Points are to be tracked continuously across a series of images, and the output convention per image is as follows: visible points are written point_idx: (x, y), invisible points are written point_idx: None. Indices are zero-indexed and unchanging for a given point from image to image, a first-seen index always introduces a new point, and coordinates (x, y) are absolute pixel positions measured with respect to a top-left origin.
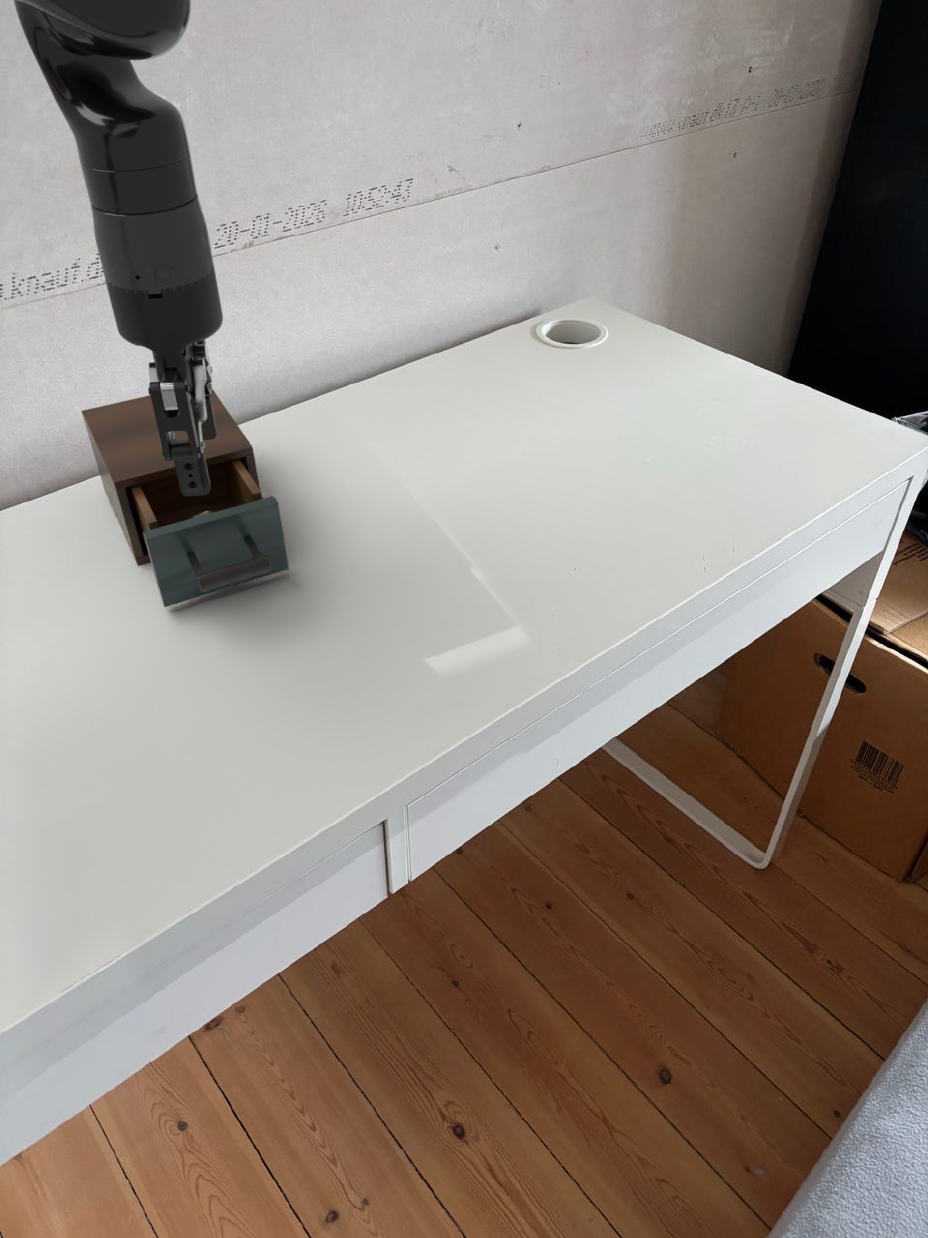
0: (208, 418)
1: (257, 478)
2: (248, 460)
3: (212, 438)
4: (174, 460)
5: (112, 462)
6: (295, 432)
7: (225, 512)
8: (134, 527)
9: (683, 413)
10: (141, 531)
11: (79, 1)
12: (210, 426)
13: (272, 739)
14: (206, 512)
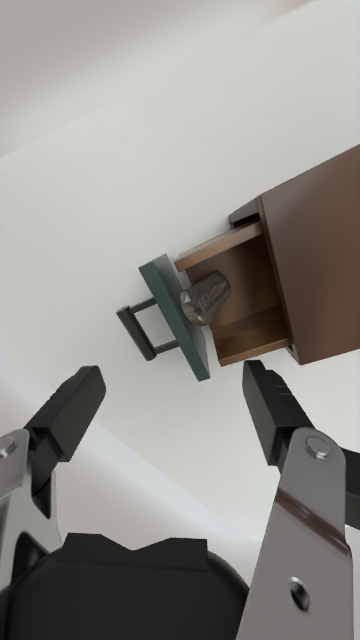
0: (253, 415)
1: None
2: (290, 350)
3: (242, 384)
4: (40, 415)
5: (328, 174)
6: None
7: (185, 342)
8: (240, 217)
9: None
10: (255, 218)
11: None
12: (248, 402)
13: (56, 336)
14: (199, 318)
